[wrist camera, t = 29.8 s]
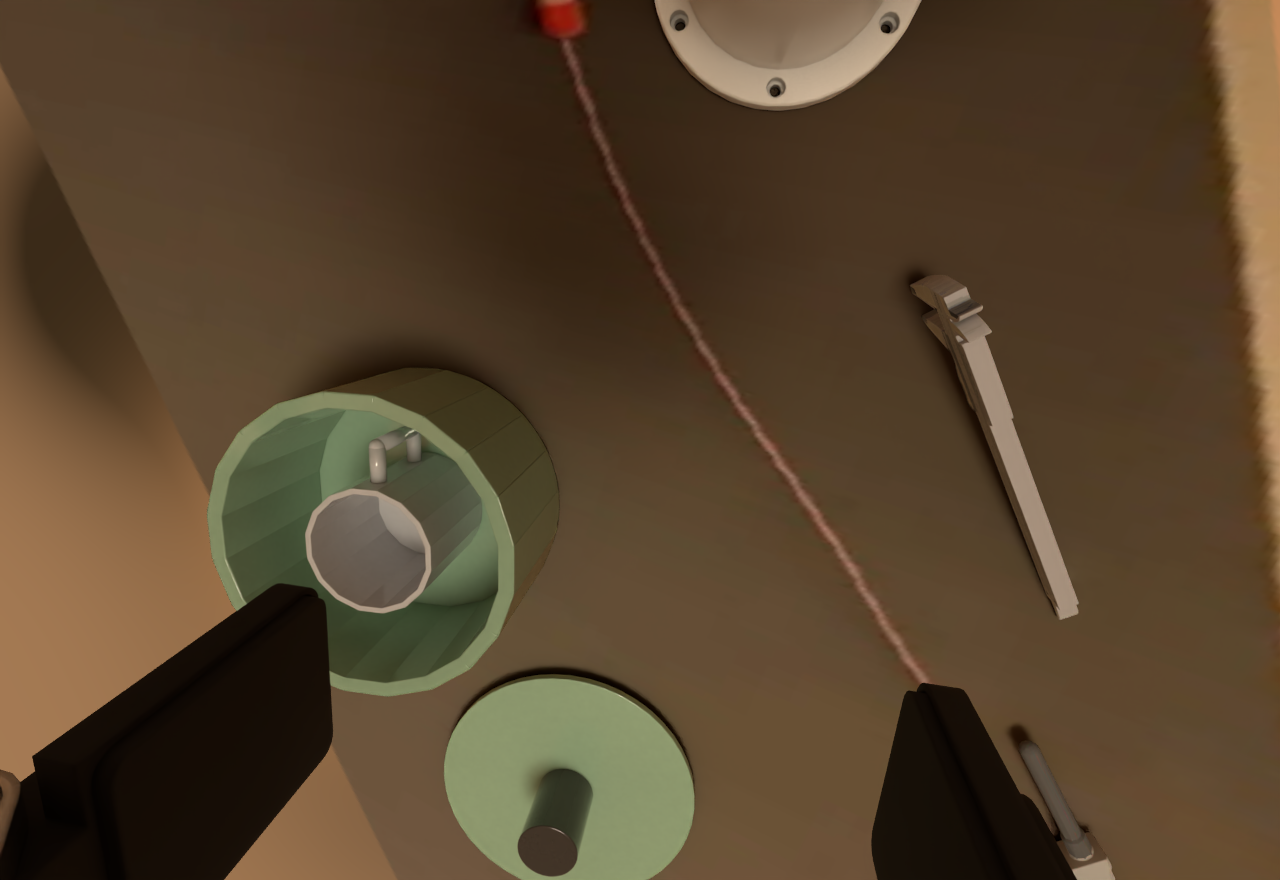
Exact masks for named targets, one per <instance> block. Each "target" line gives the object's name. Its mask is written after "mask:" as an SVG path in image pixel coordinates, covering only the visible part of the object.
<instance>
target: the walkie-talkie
mask: <svg viewBox="0 0 1280 880" xmlns="http://www.w3.org/2000/svg"><path fill="white" fill-rule="evenodd" d="M1019 752H1020V754H1021V756H1022V758H1023V759H1024V761H1025V763H1026V765H1027V767H1028V769H1029V771H1030V773H1031V775H1032V777H1033V779H1034V781H1035V783H1036V785H1037V787H1038V789H1039V791H1040V793H1041V795H1042V796H1043V798H1044V800H1045V802H1046V804H1047V806H1048V808H1049V810H1050V812H1051V814H1052V816H1053V818H1054V820H1055V822H1056V824H1057V826H1058V828H1059V830H1060V837H1061V838H1062V840H1061V841H1058V842H1057V844H1058V846H1059V848H1060V849H1061V851H1062V853H1063V855H1064V857H1065V858H1066V860H1067V862H1068V864H1069V866H1070V867H1071V869H1072V871H1073V873H1074V875H1075V877H1076V878H1077V880H1116V879H1115V877H1114V875H1113V873H1112V871H1111V869H1112V865H1111V863H1110V861H1109V860H1108V858H1107V856H1106V854H1105V853H1104V851H1103V850H1102V848H1101V847H1100V845H1099V844H1098V842H1097V841H1096V839H1095V837H1094V836H1093V834H1092V833H1090V832H1087V833H1084V831H1083V830H1082V829H1081V828H1080V827H1079V826H1078V824H1077V822H1076V820H1075V818H1074V816H1073V814H1072V812H1071V810H1070V808H1069V806H1068V804H1067V802H1066V801H1065V799H1064V797H1063V795H1062V793H1061V791H1060V789H1059V787H1058V785H1057V783H1056V781H1055V779H1054V777H1053V775H1052V773H1051V771H1050V769H1049V767H1048V765H1047V763H1046V761H1045V759H1044V757H1043V755H1042V753H1041V751H1040V749H1039V747H1038V746H1037V745H1036V744H1035V743H1033V742H1031V741H1022V742H1021V743H1020V744H1019Z"/></svg>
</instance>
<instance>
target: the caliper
mask: <svg viewBox="0 0 1280 880" xmlns="http://www.w3.org/2000/svg"><path fill="white" fill-rule="evenodd" d="M910 288H911V292H912V294H914V295H915V296H917V297H918V298H920V299H921V300H923V301H924V302H925V303H927V304H928V305H930V306H931V307H932V308H934V310H932V311H930V312H928V313H926V314H924V315H922V316H921V317H922V319H923V321H924V322H925V324H926V325H927V327H928V328H929V329H930V330H931V331H932V332H933V333H934V335H935V336H936V337H937V338H938V339H939V340H940V341H941V342H942V344H943V345H944V346H945V347H946V348H947V349H948V350H949V351H950V353H951V354H952V357H953V360H954V362H955V368H956V371H957V375H958V379H959V381H960V384H961V386H962V388H963V390H964V393H965V396H966V400H967V403H968V405H969V406H970V408H971V409H973V410H974V411H975V412H976V414H977V416H978V419H979V422H980V424H981V427H982V429H983V432H984V435H985V437H986V440H987V442H988V445H989V448H990V450H991V453H992V455H993V458H994V461H995V463H996V466H997V468H998V471H999V473H1000V476H1001V479H1002V481H1003V484H1004V486H1005V489H1006V492H1007V494H1008V497H1009V499H1010V502H1011V505H1012V507H1013V510H1014V512H1015V515H1016V518H1017V520H1018V523H1019V525H1020V528H1021V531H1022V533H1023V536H1024V539H1025V541H1026V544H1027V546H1028V549H1029V552H1030V554H1031V557H1032V559H1033V562H1034V565H1035V567H1036V570H1037V572H1038V575H1039V578H1040V580H1041V583H1042V586H1043V588H1044V591H1045V593H1046V595H1047V596H1048V597H1049V599H1050V600H1051V602H1052V604H1053V607H1054V610H1055V612H1056V615H1057V617H1058V619H1059V620H1062V619H1064V618H1067V617H1070V616H1073V615H1075V614H1078V609H1077V606H1076V604H1079V603H1078V601H1077V598H1076V595H1075V592H1074V590H1073V587H1072V584H1071V581H1070V579H1069V576H1068V573H1067V570H1066V567H1065V565H1064V562H1063V559H1062V556H1061V554H1060V551H1059V548H1058V545H1057V543H1056V540H1055V537H1054V534H1053V532H1052V529H1051V526H1050V524H1049V521H1048V518H1047V515H1046V513H1045V510H1044V507H1043V504H1042V502H1041V499H1040V496H1039V493H1038V491H1037V488H1036V485H1035V483H1034V480H1033V477H1032V474H1031V472H1030V469H1029V466H1028V463H1027V461H1026V458H1025V455H1024V452H1023V450H1022V447H1021V444H1020V442H1019V439H1018V436H1017V433H1016V431H1015V428H1014V425H1013V422H1012V420H1011V418H1014V417H1013V414H1012V411H1011V408H1010V405H1009V403H1008V400H1007V397H1006V394H1005V391H1004V389H1003V386H1002V383H1001V380H1000V377H999V375H998V372H997V369H996V366H995V363H994V360H993V358H992V355H991V352H990V349H989V346H988V344H987V341H986V338H985V335H987V334H989V333H992V331H991V330H990V328H989V327H988V326H987V325H986V323H985V322H984V321H983V320H982V319H981V318H980V317H979V316H978V315H977V314H976V313H977V312H980V311H981V310H982V309H983V306H982V305H980V304H979V303H977V302H975V301H973V300H972V299H970V296H969V293H968V291H967V288H966V287H965V286H963V285H962V284H960V283H959V282H957V281H955V280H954V279H952V278H950V277H949V276H947V275H929V276H927V277H925V278H923V279H921V280H919V281H917V282H915V283H913V284H911V285H910Z"/></svg>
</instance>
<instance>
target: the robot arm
mask: <svg viewBox="0 0 1280 880" xmlns="http://www.w3.org/2000/svg"><path fill="white" fill-rule="evenodd" d="M654 1H655V6H656V10H657V14H658V17H659V20H660V23H661V26H662V29H663V32H664V34H665V36H666V38H667V40H668V42H669V44H670V45H671V47H672V49H673V51H674V53H675V55H676V56H677V57H678V59H679V60H680V61H681V63H682V64H683V65H684V66H685V68H686V69H687V70H688V72H689V73H690V74H691V75H692V76H693V77H694V78H696V79H697V80H698V81H699V82H700V83H701V84H703V85H704V86H705V87H706V88H707V89H709V90H710V91H712V92H713V93H715V94H717V95H719V96H721V97H723V98H724V99H726V100H728V101H730V102H733V103H736V104H739V105H743V106H746V107H749V108H753V109H761V110H774V111H783V110H790V109H798V108H805V107H808V106H811V105H814V104H817V103H820V102H823V101H826V100H829V99H831V98H833V97H835V96H837V95H838V94H840V93H842V92H844V91H846V90H847V89H849V88H851V87H853V86H854V85H855V84H857V83H858V82H859V81H860V80H862V79H863V78H864V77H865V76H866V75H868V74H869V73H870V72H871V71H873V70H874V69H875V68H876V67H877V66H878V65H879V64H880V62H881V61H882V60H883V59H884V58H885V57H886V55H887V54H888V53H889V52H890V51H891V50H892V49H893V47H894V46H895V45H896V44H897V42H898V41H899V39H900V38H901V37H902V35H903V34H904V32H905V31H906V29H907V28H908V26H909V24H910V22H911V20H912V18H913V16H914V14H915V12H916V10H917V8H918V6H919V4H920V2H921V0H654ZM679 22H683V23H684V24H685V28H684V29H683V30H681V31H677V30H676V29H675V26H676V24H677V23H679ZM884 24H886V25H889V27H890V33H888V34H886V33H883V32H882V31H881V26H882V25H884ZM774 87H776V88H778V89H779V90H780V95H778V96H777V97H773V96H771V95H770V92H769V91H770V90H771V89H772V88H774ZM332 737H333V723H332V705H331V686H330V668H329V649H328V631H327V612H326V604H325V602H324V600H323V599H321V598H319V597H318V594H317V592H316V590H315V589H313V588H310V587H304V586H297V585H291V584H284V583H277V584H275V585H273V586H271V587H270V588H268V589H267V590H265V591H264V592H263V593H261V594H260V595H258V596H257V597H256V598H254V599H253V600H251V601H250V602H249V603H247V604H246V605H244V606H243V607H242V608H240V609H239V610H237V611H236V612H235V613H233V614H232V615H230V616H229V617H228V618H226V619H225V620H223V621H222V622H221V623H219V624H218V625H216V626H215V627H214V628H212V629H211V630H209V631H208V632H206V633H205V634H204V635H202V636H201V637H199V638H198V639H197V640H195V641H194V642H192V643H191V644H190V645H188V646H187V647H185V648H184V649H183V650H181V651H180V652H178V653H177V654H176V655H174V656H173V657H171V658H170V659H168V660H167V661H166V662H164V663H163V664H162V665H160V666H159V667H157V668H156V669H154V670H153V671H152V672H150V673H149V674H147V675H146V676H145V677H143V678H142V679H141V680H139V681H138V682H136V683H135V684H133V685H132V686H130V687H129V688H128V689H126V690H125V691H123V692H122V693H121V694H119V695H118V696H116V697H115V698H114V699H112V700H111V701H110V702H108V703H107V704H105V705H104V706H103V707H101V708H100V709H98V710H97V711H95V712H94V713H93V714H91V715H90V716H88V717H87V718H86V719H84V720H83V721H81V722H80V723H79V724H77V725H76V726H74V727H73V728H72V729H70V730H69V731H67V732H66V733H65V734H63V735H62V736H60V737H59V738H57V739H56V740H55V741H53V742H52V743H50V744H49V745H48V746H46V747H45V748H43V749H42V750H41V751H39V752H38V753H36V754H35V755H33V756H32V758H33V763H34V767H35V772H34V773H32V774H31V775H30V776H28V777H27V778H26V779H24V780H23V781H21V782H20V781H19V780H18V779H17V778H16V777H15V776H14V775H13V774H12V773H10V772H6V771H3V770H0V880H224V879H225V878H226V877H227V875H228V874H229V873H230V872H231V871H232V869H233V868H234V867H235V866H236V864H237V863H238V862H239V861H240V860H241V858H242V857H243V856H244V855H245V853H246V852H247V851H248V850H249V848H250V847H251V846H252V845H253V844H254V842H255V841H256V840H257V839H258V838H259V836H260V835H261V834H262V833H263V831H264V830H265V829H266V828H267V827H268V825H269V824H270V823H271V822H272V820H273V819H274V818H275V817H276V816H277V814H278V813H279V812H280V811H281V809H282V808H283V807H284V806H285V805H286V803H287V802H288V801H289V800H290V799H291V797H292V796H293V795H294V794H295V792H296V791H297V790H298V789H299V787H300V786H301V785H302V784H303V783H304V781H305V780H306V779H307V778H308V777H309V775H310V774H311V773H312V772H313V770H314V769H315V768H316V767H317V766H318V764H319V763H320V762H321V761H322V759H323V758H324V757H325V755H326V754H327V752H328V750H329V748H330V745H331V742H332ZM872 856H873V862H874V866H875V870H876V875H877V879H878V880H1077V878H1076V877H1075V875H1074V873H1073V871H1072V869H1071V867H1070V866H1069V864H1068V862H1067V860H1066V858H1065V857H1064V855H1063V853H1062V851H1061V849H1060V848H1059V846H1058V844H1057V842H1056V840H1055V839H1054V837H1053V835H1052V833H1051V831H1050V830H1049V828H1048V826H1047V824H1046V822H1045V820H1044V819H1043V817H1042V815H1041V813H1040V811H1039V810H1038V808H1037V807H1036V805H1035V804H1034V803H1033V801H1032V800H1031V799H1030V798H1028V797H1027V796H1025V795H1024V794H1020V793H1019V791H1018V789H1017V787H1016V785H1015V783H1014V781H1013V780H1012V778H1011V776H1010V774H1009V772H1008V770H1007V768H1006V767H1005V765H1004V763H1003V761H1002V759H1001V757H1000V755H999V753H998V752H997V750H996V748H995V746H994V744H993V742H992V740H991V738H990V737H989V735H988V733H987V731H986V729H985V727H984V725H983V724H982V722H981V720H980V718H979V716H978V714H977V712H976V710H975V709H974V707H973V705H972V703H971V701H970V699H969V697H968V695H967V694H966V693H965V691H964V690H962V689H960V688H953V687H947V686H940V685H934V684H928V683H922V684H920V686H919V687H918V689H917V692H914V691H907V692H906V694H905V696H904V699H903V703H902V707H901V711H900V716H899V720H898V724H897V728H896V732H895V737H894V741H893V745H892V749H891V754H890V758H889V762H888V766H887V771H886V775H885V779H884V783H883V788H882V792H881V796H880V800H879V805H878V809H877V813H876V817H875V822H874V826H873V831H872Z"/></svg>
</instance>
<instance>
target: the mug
mask: <svg viewBox="0 0 1280 880" xmlns="http://www.w3.org/2000/svg"><path fill="white" fill-rule="evenodd" d="M405 441H406V452H407V455H405V456H403V457H401V458H398V459H395V460H393V461H391V462H389V463H388V464H387V460H386V451H387V450H389V449H391V448H393V447H395V446H397V445H399V444H401V443H403V442H405ZM369 464H370V473H369V474H368V475H366V476H364V477H362V478H360V479H359V480H357V481H355V482H353V483H351V484H349V485H348V486H346V487H344V488H342V489H340V490H339V491H337V492H335V493H333V494H331V495H330V496H328V497H327V498H326V499H325V500H324V501H323V502H322V503H321V504H320V505H319V506H318V507H317V508H316V509H315V510H314V511H313V512H312V515H311V518H310V521H309V524H308V527H307V529H306V532H305V539H306V551H307V559H308V561H309V563H310V565H311V567H312V569H313V571H314V573H315V575H316V577H317V580H318V581H319V582H320V583H321V584H322V585H323V586H324V587H325V588H326V589H327V590H328V591H329V592H330V593H331V594H332V595H333V596H334V597H335V598H336V599H337V600H339V601H341V602H343V603H345V604H347V605H349V606H351V607H353V608H355V609H357V610H359V611H367V612H375V613H387V612H390V611H394V610H398V609H401V608H405V607H406V606H408V605H409V604H410V603H411V602H412V601H413V600H415V599H416V598H417V597H418V596H419V595H420V594H422V593H423V592H424V591H425V589H426V588H427V587H428V586H429V585H430V584H431V583H432V582H433V581H434V580H435V579H436V578H437V577H438V576H439V575H440V574H441V573H442V572H443V571H444V570H445V569H446V568H447V567H448V566H449V565H450V564H451V563H452V562H453V561H454V560H455V558H456V557H457V556H458V555H459V554H460V553H461V552H462V551H463V550H464V549H465V548H466V547H467V546H468V545H469V544H470V543H471V542H472V540H473V538H474V537H475V536H476V534H477V532H478V530H479V527H480V524H481V519H482V502H481V497H480V496H479V495H478V493H477V492H476V490H475V489H474V487H473V486H472V485H471V483H470V482H469V480H468V479H467V477H466V476H465V475H464V473H463V472H462V470H461V469H460V467H459V466H458V465H457V463H456V462H454V461H452V460H451V459H449V458H447V457H444V456H442V455H439V454H435V453H429V452H422V449H421V434H420V433H419V432H418V431H416V430H414V429H411V428H409V427H406V426H401V427H399V428H397V429H395V430H393V431H390V432H388V433H386V434H384V435H382V436H380V437H377V438H375V439H373V440H372V441H371V442H370V443H369Z"/></svg>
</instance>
